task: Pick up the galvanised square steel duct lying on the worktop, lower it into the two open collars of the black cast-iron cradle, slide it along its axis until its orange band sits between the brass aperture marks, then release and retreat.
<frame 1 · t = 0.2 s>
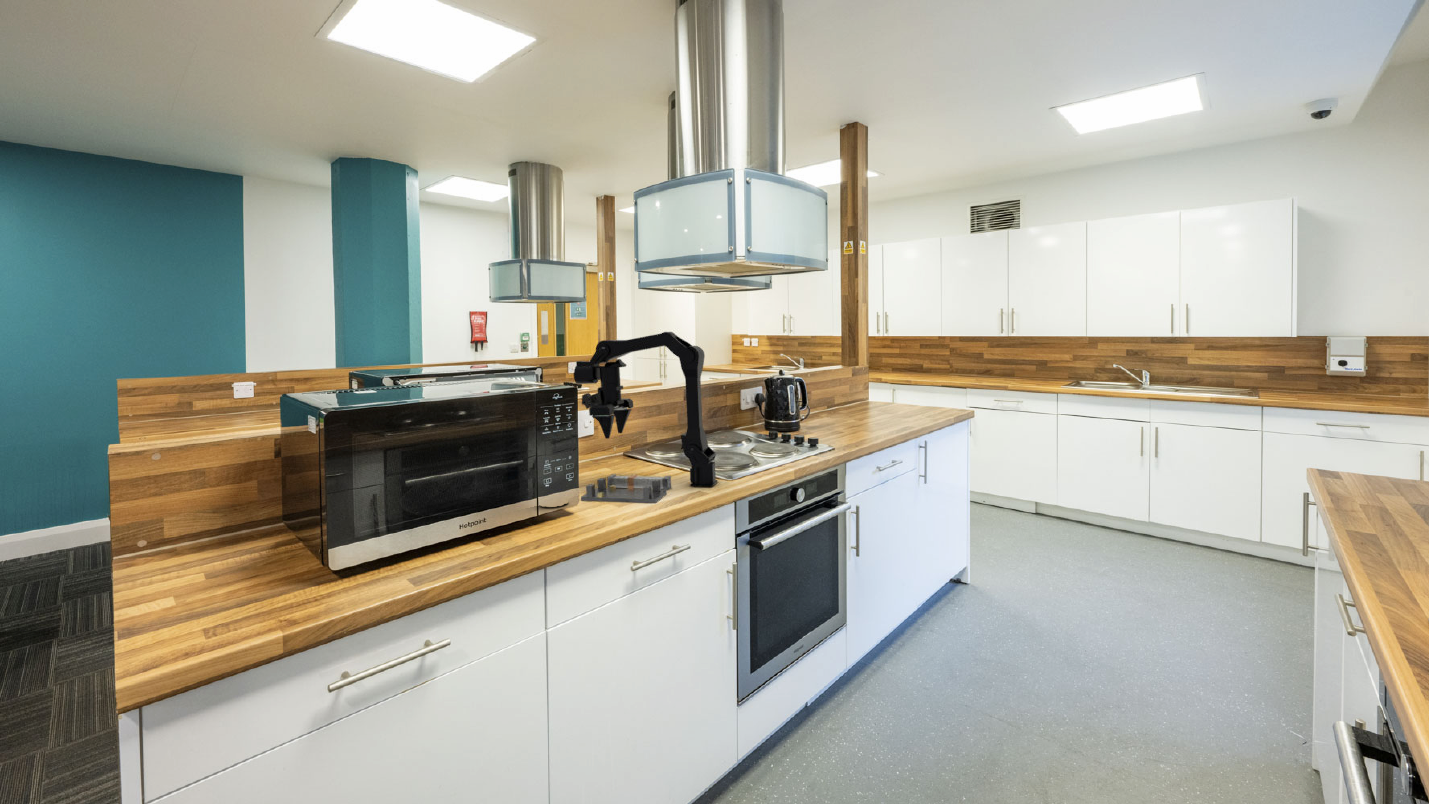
hand: (614, 435, 177), 14 cm above the worktop, fingers open, 9 cm apart
tube: (639, 488, 171), on the worktop
cradle: (624, 497, 161), on the worktop
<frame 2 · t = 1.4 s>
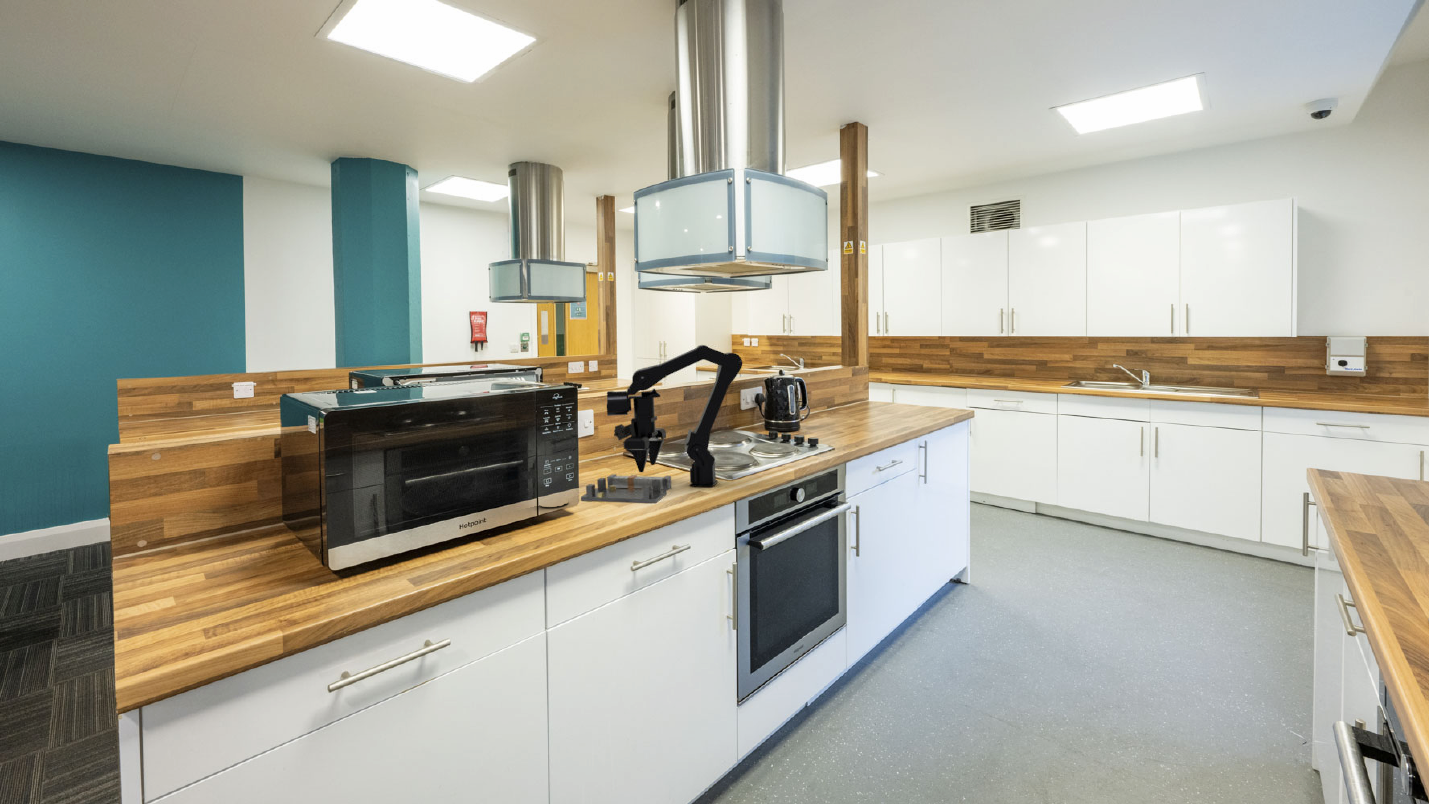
hand: (647, 468, 170), 6 cm above the worktop, fingers open, 9 cm apart
nothing on the worktop moved.
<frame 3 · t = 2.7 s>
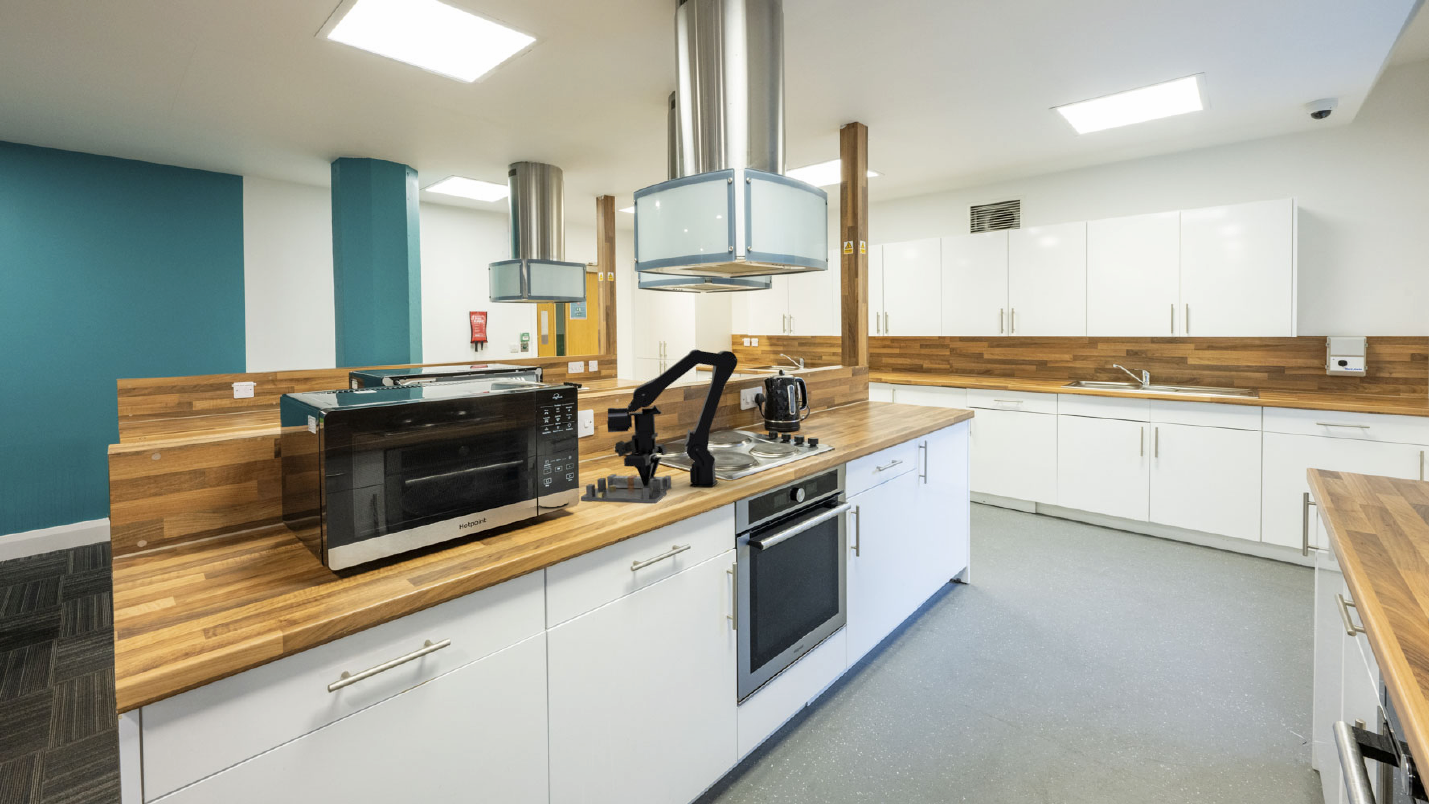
hand: (647, 484, 170), 1 cm above the worktop, fingers closed on tube, 3 cm apart
tube: (639, 487, 171), on the worktop, touching gripper
everything else where it was.
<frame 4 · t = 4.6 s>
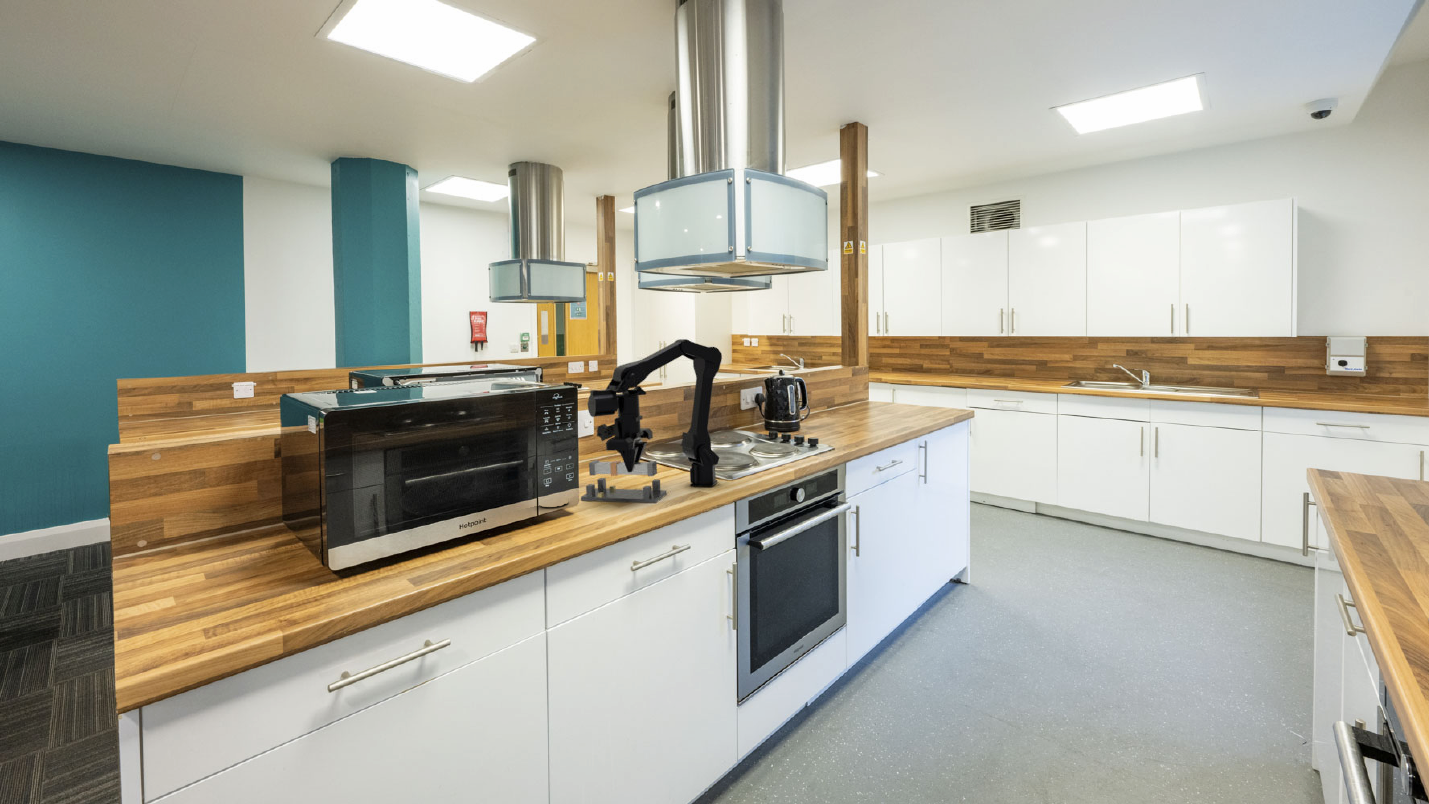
hand: (632, 470, 160), 7 cm above the worktop, fingers closed on tube, 3 cm apart
tube: (623, 474, 161), point 6 cm above the worktop, touching gripper
everything else where it was.
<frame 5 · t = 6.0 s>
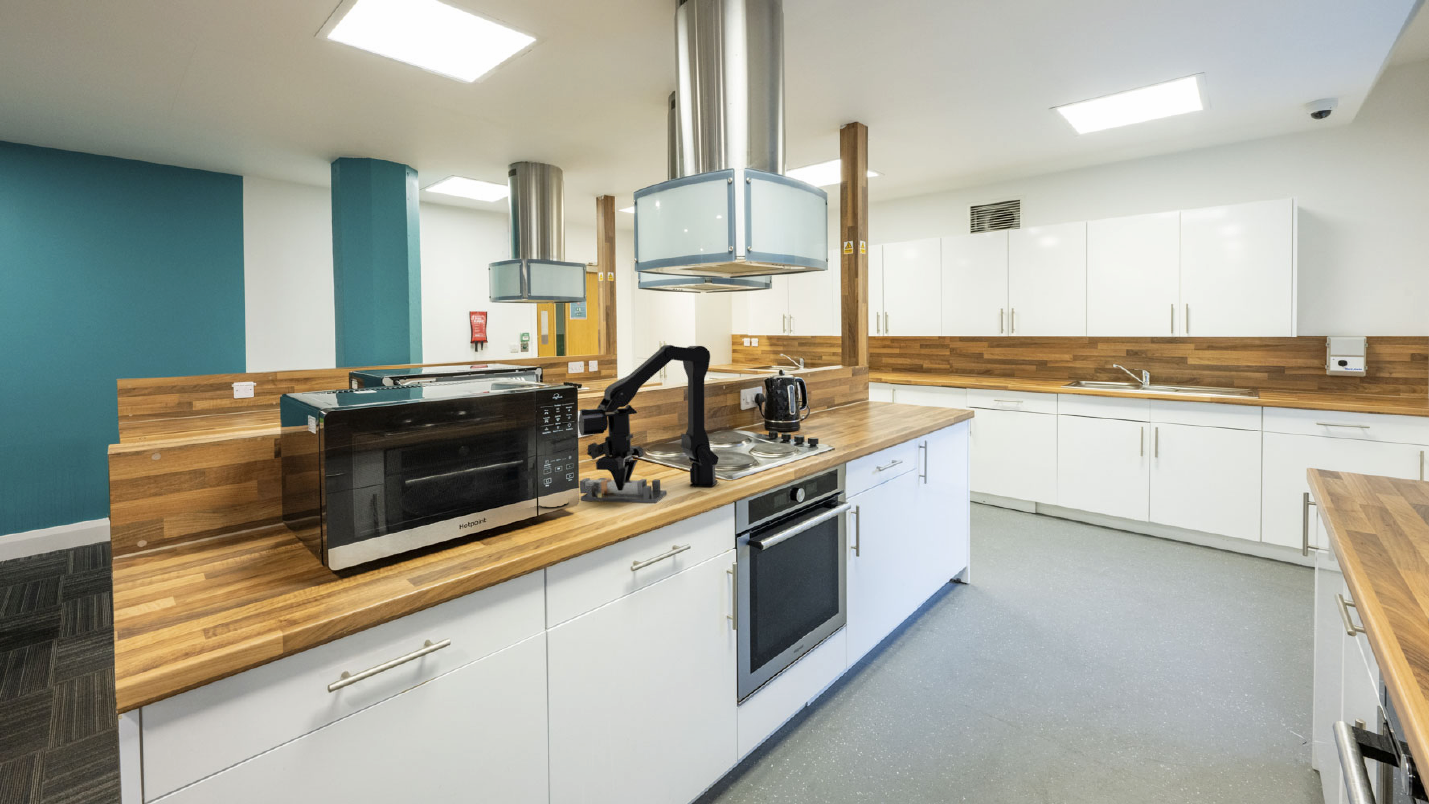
hand: (622, 488, 161), 2 cm above the worktop, fingers closed on tube, 3 cm apart
tube: (613, 492, 162), point 1 cm above the worktop, touching gripper
everything else where it was.
when the fingers open (3 cm above the worktop, at t = 6.8 s): tube stays where it is, resting on cradle.
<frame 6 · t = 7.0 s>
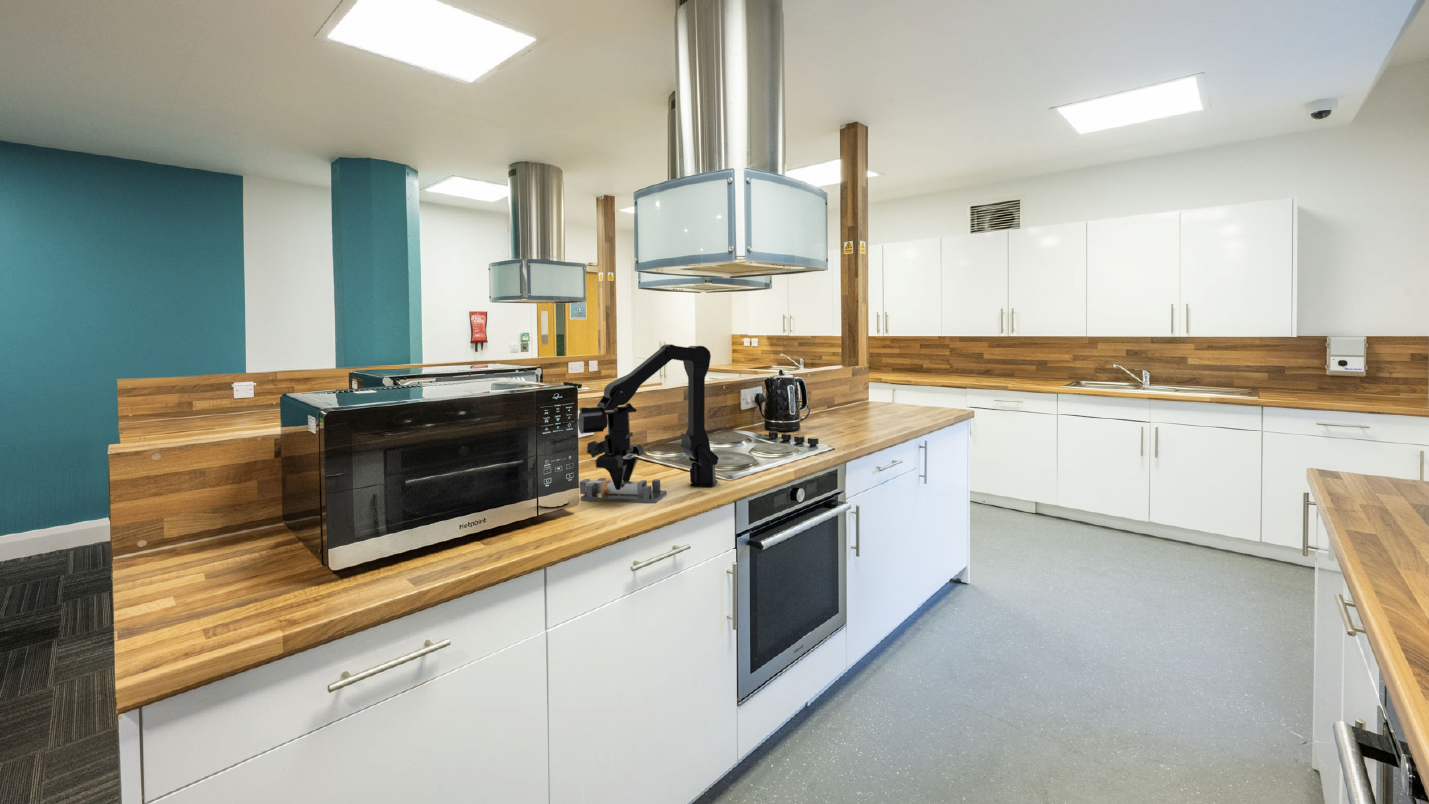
hand: (622, 487, 161), 3 cm above the worktop, fingers open, 5 cm apart
tube: (613, 493, 162), point 1 cm above the worktop, touching cradle
everything else where it was.
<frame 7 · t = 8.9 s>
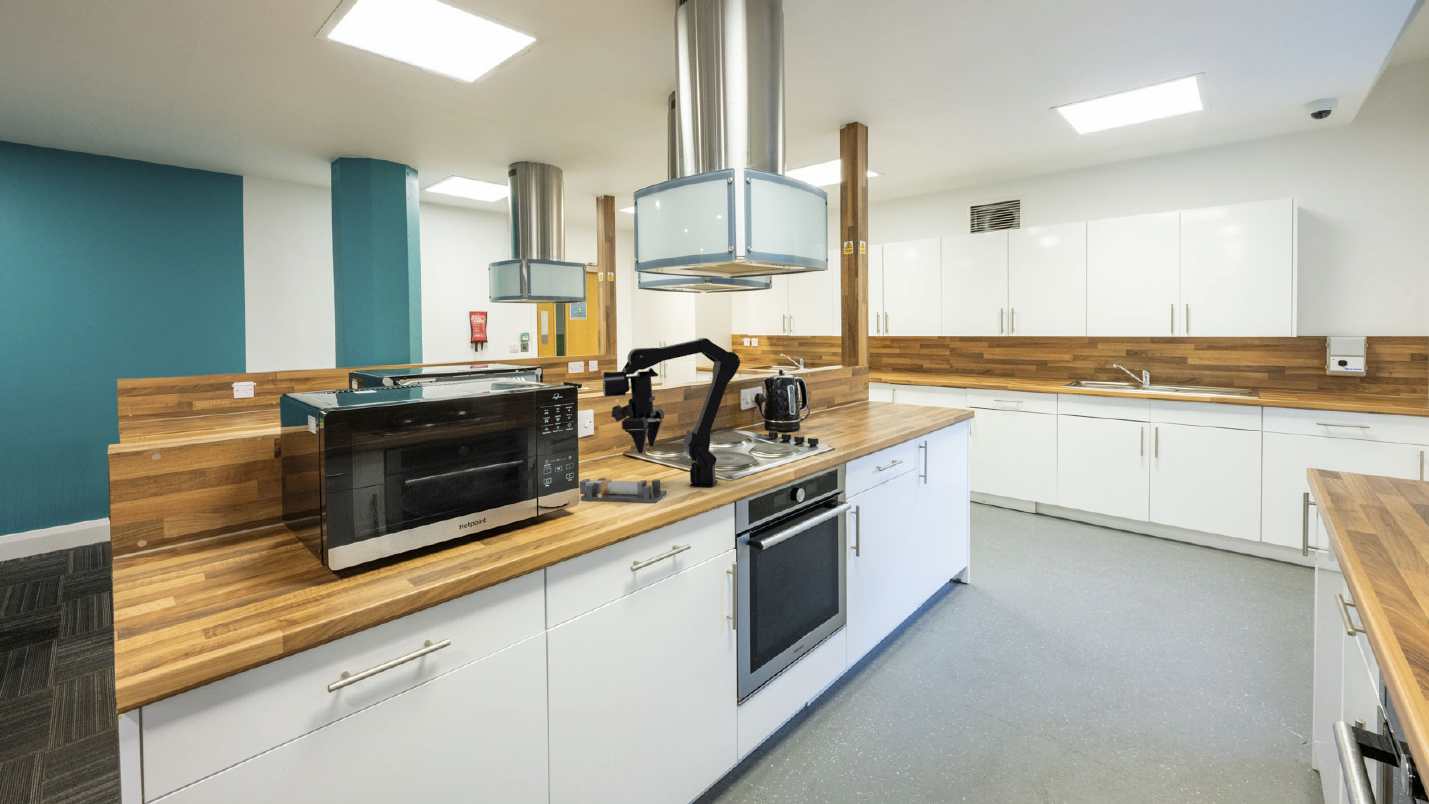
hand: (646, 449, 166), 12 cm above the worktop, fingers open, 9 cm apart
nothing on the worktop moved.
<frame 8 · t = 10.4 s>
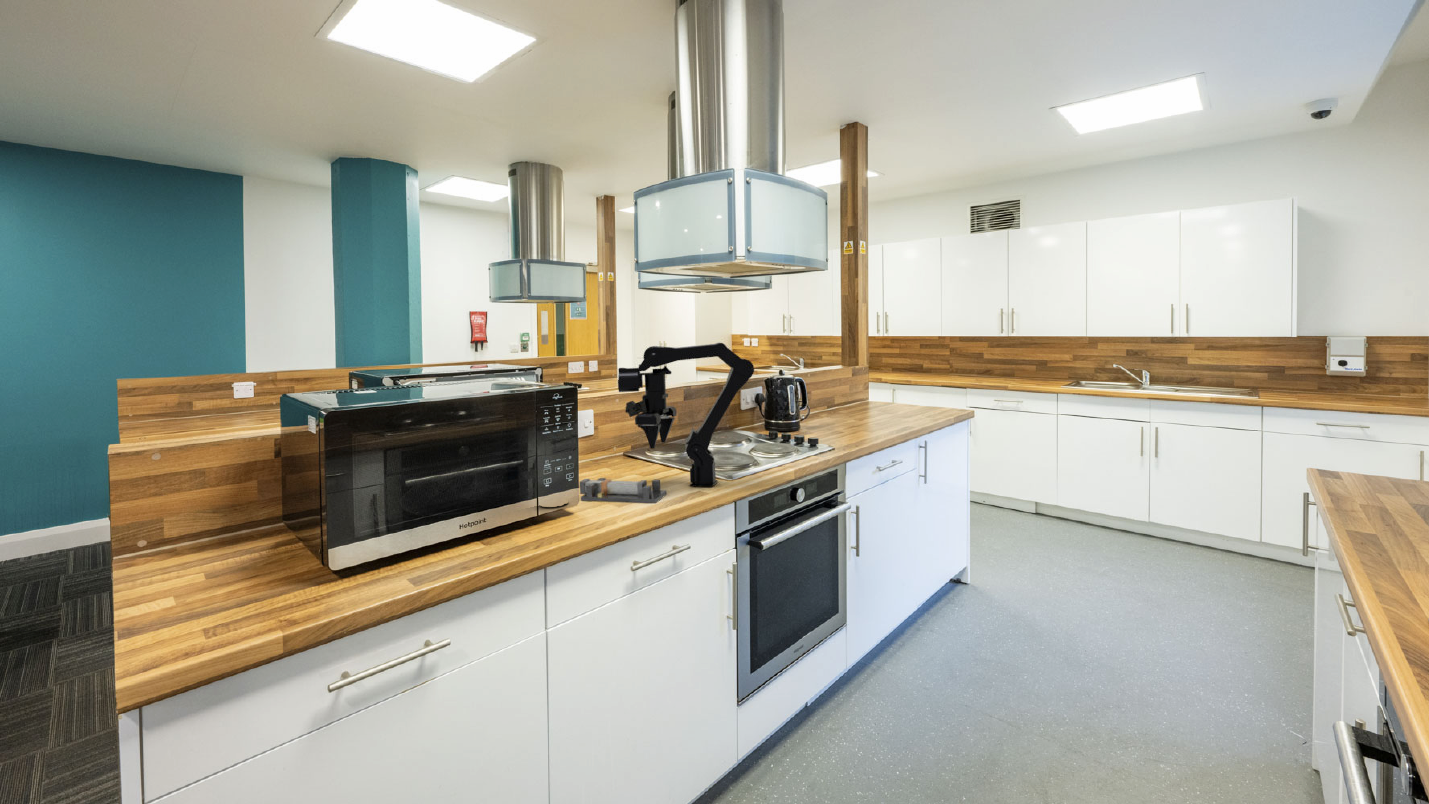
hand: (658, 445, 170), 12 cm above the worktop, fingers open, 9 cm apart
nothing on the worktop moved.
at the end: tube 0.0 cm from the target spot on the cradle, point 1.0 cm above the cradle's base; the gripper is holding nothing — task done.
